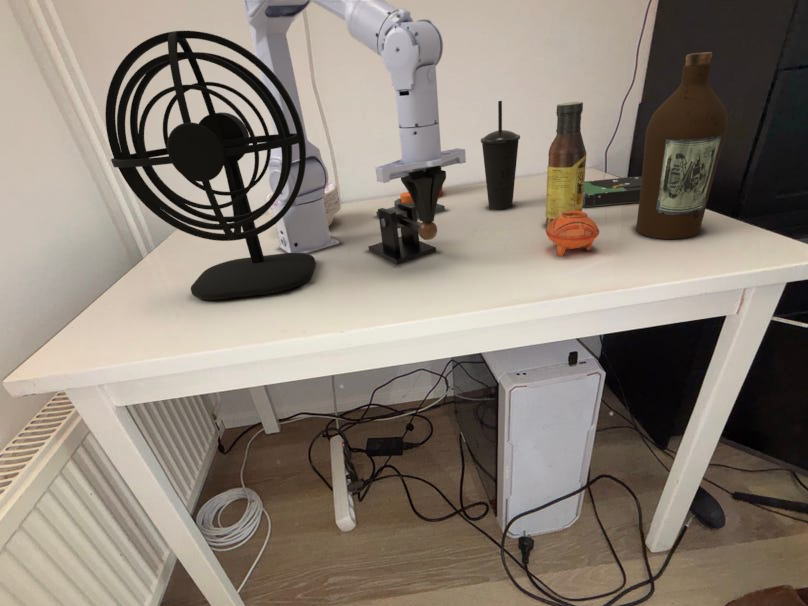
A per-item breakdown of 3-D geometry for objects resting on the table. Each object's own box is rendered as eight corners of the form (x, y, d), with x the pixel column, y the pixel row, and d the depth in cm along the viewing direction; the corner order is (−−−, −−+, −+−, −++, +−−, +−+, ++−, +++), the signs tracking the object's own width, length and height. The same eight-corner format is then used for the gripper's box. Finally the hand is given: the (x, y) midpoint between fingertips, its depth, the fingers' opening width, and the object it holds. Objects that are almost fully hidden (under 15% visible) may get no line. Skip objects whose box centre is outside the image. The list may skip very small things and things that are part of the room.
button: (406, 205, 102) (405, 197, 101) (398, 202, 105) (397, 194, 104) (420, 201, 104) (420, 193, 103) (411, 198, 106) (411, 190, 105)
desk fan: (154, 315, 74) (39, 44, 56) (192, 272, 89) (111, 47, 71) (328, 295, 73) (270, 13, 55) (337, 254, 88) (294, 22, 70)
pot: (531, 248, 80) (541, 205, 77) (571, 249, 82) (582, 208, 79) (560, 261, 73) (571, 215, 70) (602, 262, 75) (615, 218, 72)
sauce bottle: (582, 229, 85) (593, 103, 75) (545, 231, 87) (551, 107, 76) (578, 218, 91) (588, 99, 80) (544, 220, 92) (549, 103, 81)
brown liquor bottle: (625, 222, 86) (647, 57, 73) (691, 218, 84) (726, 47, 71) (641, 243, 77) (669, 59, 64) (714, 239, 75) (760, 48, 62)
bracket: (436, 252, 84) (433, 207, 80) (397, 265, 81) (391, 219, 76) (405, 240, 91) (401, 197, 87) (368, 251, 88) (362, 208, 84)
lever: (441, 239, 76) (440, 220, 75) (425, 244, 75) (424, 225, 74) (401, 223, 85) (400, 206, 84) (387, 227, 84) (385, 210, 82)
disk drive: (642, 189, 103) (570, 195, 104) (644, 175, 101) (571, 181, 103) (662, 201, 94) (583, 208, 95) (664, 186, 93) (584, 193, 94)
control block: (397, 225, 100) (396, 210, 98) (376, 217, 107) (374, 203, 105) (445, 211, 105) (444, 197, 103) (422, 204, 111) (420, 191, 110)
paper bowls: (260, 239, 102) (249, 201, 98) (295, 217, 114) (287, 182, 110) (324, 239, 97) (316, 199, 93) (354, 216, 109) (348, 180, 105)
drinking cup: (475, 207, 104) (472, 103, 94) (504, 200, 107) (505, 97, 96) (495, 214, 98) (494, 104, 88) (526, 206, 101) (529, 98, 90)
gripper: (388, 135, 62) (400, 238, 69) (477, 117, 68) (479, 214, 75) (363, 132, 68) (376, 228, 75) (447, 116, 73) (452, 206, 80)
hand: (426, 220), depth 75 cm, fingers closed
